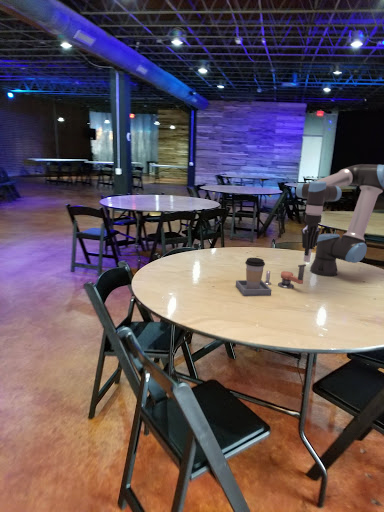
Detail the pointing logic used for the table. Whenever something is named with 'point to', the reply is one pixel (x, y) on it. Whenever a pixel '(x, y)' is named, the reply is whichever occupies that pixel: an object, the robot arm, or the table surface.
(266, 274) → the peg
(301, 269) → the crank
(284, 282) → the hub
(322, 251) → the robot arm
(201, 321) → the table surface
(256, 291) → the tray
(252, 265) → the coffee cup
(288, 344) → the table surface
